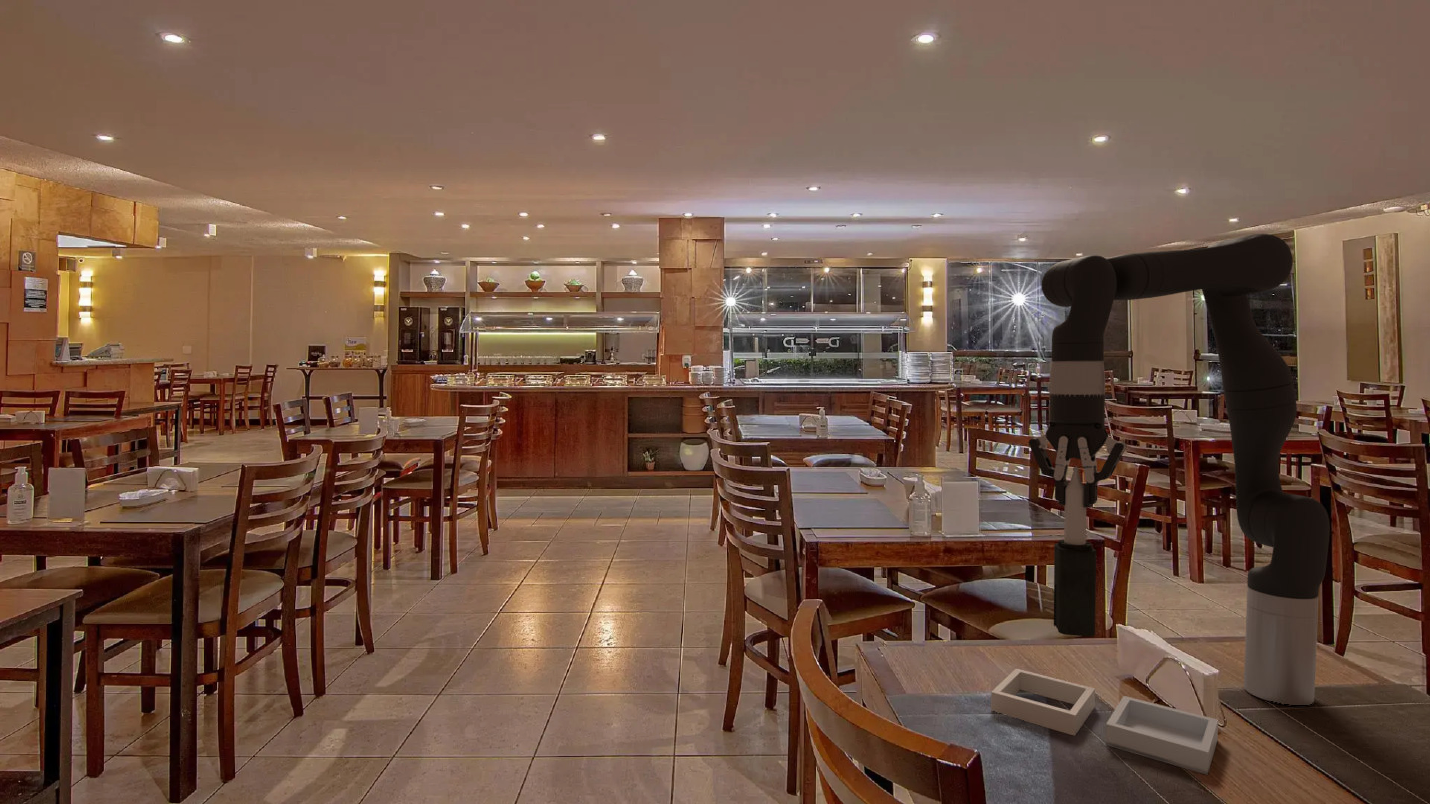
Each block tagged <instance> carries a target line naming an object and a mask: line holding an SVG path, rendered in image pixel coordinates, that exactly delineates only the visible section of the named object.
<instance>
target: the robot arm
mask: <svg viewBox="0 0 1430 804" xmlns="http://www.w3.org/2000/svg"><path fill="white" fill-rule="evenodd" d="M1293 261H1294V260H1293V254H1292V251H1291V248H1290V247H1289V245H1288V243H1286V242H1285V240H1284V239H1282V238H1280V237H1279V236H1277V235H1273V234H1269V233H1253V234H1250V235H1245V236H1244V235H1243V236H1239V237H1236V238H1235V237H1234V238H1231V239H1226V240H1222V241H1218V242H1215V243H1212V244H1210V245H1208V246H1207V247H1203V248H1202V247H1201V248H1191V249H1175V250H1159V251H1146V252H1133V253H1124V254H1119V255H1115V256H1112V257H1107V258H1105V256H1101V255H1097V254H1096V255H1095V254H1094V255H1092V254H1090V255H1085V256H1082V257H1075V258H1073V259H1067V260H1062V261H1060V262H1057V263H1055V264H1053V265H1052V266H1051V267H1049V268H1048V269H1047V270H1046V271H1045V273H1044V275H1043V276H1042V280H1041V291H1042V294H1043V295H1044V296H1043V297H1045V298H1046V300H1047V301H1048V302H1049V303H1050V304H1053V305H1054V306H1057V307H1061V308H1062V307H1063V308H1068V307H1070V309H1069V313H1068V316H1067V318H1066V320H1064V321H1063V322H1061V323H1059V324H1057V325H1056V326H1054V328H1053V330H1052V334H1051V366H1050V372H1049V383H1048V391H1049V395H1048V396H1049V397H1048V399H1049V403H1048V404H1049V405H1048V406H1049V407H1048V408H1049V409H1048V414H1049V415H1048V416H1049V418H1048V427H1047V430H1046V431H1045V434H1044V435H1041V436H1038V437H1032V438H1031V439H1029V440H1028V445H1029V447H1030V449H1031V452H1032V454H1033V456H1034V458H1035V460H1036V463H1037V466H1038V467H1039V470H1040V471H1041V474H1042V475H1043V476H1047V477H1050V478H1052V479H1053V480H1054V498H1055V501H1056V502H1058V505H1059V506H1065V488H1066V486H1067V485H1068V484H1069V479H1067V474H1068V472H1069V471H1068V470H1069V465H1070V463H1071V459H1078V460H1080V461H1081V465H1082V468H1083V473H1084V479H1085V482H1084V484H1083V485H1084V507H1085V508H1086V509H1087V508H1089V509H1091V508H1092V507H1093V505H1095V504H1096V503H1097V501H1098V486H1099V485H1098V484H1099V482H1100V481H1104V480H1107V479H1109V478H1111V477H1112V475H1113V473H1114V472H1115V470H1116V468H1117V466H1118V464H1119V463H1120V460H1121V459H1122V457H1123V455H1124V453H1125V451H1126V449H1127V448H1128V447H1127V446H1128V444H1127V443H1126V442H1125V441H1118V440H1116V439H1114V438H1112V437H1109V433H1108V431H1107V430H1106V426H1105V424H1106V423H1105V422H1106V421H1105V420H1106V417H1105V416H1106V409H1105V408H1106V374H1105V371H1106V370H1105V365H1104V359H1105V358H1104V357H1105V356H1104V352H1105V351H1104V346H1105V345H1104V343H1105V342H1104V341H1105V340H1104V339H1105V337H1104V334H1105V331H1106V328H1107V324H1108V321H1109V320H1110V319H1109V318H1110V314H1111V311H1112V307H1113V304H1114V301H1134V300H1135V301H1136V300H1142V299H1144V300H1145V299H1152V298H1158V297H1164V296H1170V295H1177V294H1182V293H1187V292H1188V293H1189V292H1192V291H1198V290H1201V291H1202V296H1203V298H1204V303H1205V306H1206V309H1207V312H1208V316H1209V319H1210V323H1211V327H1212V330H1213V334H1214V340H1215V346H1216V352H1217V355H1218V360H1219V365H1220V372H1221V380H1222V381H1221V382H1222V390H1223V395H1224V402H1225V407H1226V408H1225V409H1226V413H1227V418H1228V423H1229V429H1230V438H1231V444H1232V445H1231V446H1232V453H1233V461H1234V477H1235V481H1234V482H1235V500H1236V501H1235V505H1236V517H1237V522H1238V526H1239V528H1240V529H1241V531H1242V534H1244V535H1245V537H1246V538H1247V539H1248V540H1250V541H1251V542H1254V543H1255V544H1256V543H1257V544H1259V545H1263V546H1266V547H1269V548H1270V547H1271V548H1272V552H1271V553H1272V554H1271V560H1270V562H1269V564H1268V565H1266V566H1265V565H1264V566H1263V565H1262V566H1255V567H1252V568H1250V569H1249V571H1248V573H1247V579H1246V581H1247V582H1246V583H1247V586H1246V587H1247V588H1246V589H1247V590H1246V612H1245V613H1246V615H1245V641H1244V642H1245V644H1244V665H1243V666H1244V667H1243V688H1244V690H1245V691H1246V692H1247V693H1249V694H1250V695H1253V696H1255V697H1257V698H1260V699H1262V700H1264V701H1268V702H1271V701H1273V702H1272V703H1275V702H1277V703H1276V704H1279V703H1281V705H1284V704H1289V705H1288V706H1291V705H1307V704H1312V703H1313V702H1314V703H1315V693H1316V692H1315V691H1316V690H1315V687H1316V671H1317V670H1316V669H1317V668H1316V667H1317V646H1318V645H1317V643H1318V641H1317V640H1318V619H1319V617H1318V616H1319V614H1318V613H1319V592H1320V586H1321V585H1322V583H1323V580H1324V579H1325V575H1326V571H1327V563H1328V562H1327V561H1328V552H1329V545H1330V533H1331V527H1330V526H1331V525H1330V518H1329V514H1328V512H1327V509H1326V508H1325V507H1324V506H1323V504H1322V502H1320V501H1318V500H1316V499H1314V498H1311V497H1309V496H1305V495H1299V494H1296V493H1295V494H1293V493H1288V492H1284V491H1283V487H1282V485H1281V478H1280V470H1279V469H1280V468H1279V461H1280V460H1279V459H1280V454H1281V451H1282V448H1283V446H1284V444H1285V442H1286V441H1287V439H1288V436H1289V434H1290V432H1291V431H1292V428H1293V425H1294V424H1295V422H1296V418H1297V412H1298V405H1297V399H1296V392H1295V386H1294V385H1295V383H1294V380H1293V375H1292V371H1291V369H1290V367H1289V365H1288V364H1287V362H1286V361H1285V359H1284V358H1283V356H1281V354H1280V352H1278V350H1277V349H1276V347H1274V346H1273V345H1272V344H1271V343H1270V342H1269V340H1268V339H1267V338H1266V337H1265V335H1264V334H1263V333H1262V332H1261V331H1260V329H1259V327H1258V326H1257V325H1256V322H1255V319H1254V317H1253V315H1252V310H1251V306H1250V301H1249V295H1253V294H1260V293H1264V292H1268V291H1269V292H1270V291H1271V290H1273V289H1275V288H1278V287H1279V286H1281V285H1282V284H1283V283H1285V281H1286V280H1287V279H1288V278H1289V276H1290V274H1291V272H1292V269H1293ZM1048 442H1049V444H1050V445H1051V446H1052V448H1053V450H1054V451H1055V452H1056V458H1055V463H1054V465H1055V467H1054V466H1053V463H1052V461H1051V459H1050V457H1049V455H1048V452H1047V448H1048ZM1104 445H1106V452H1107V454H1108V456H1107V458H1106V460H1105V462H1104V464H1103V466H1102V468H1101V470H1100V471H1098V468H1097V467H1098V462H1097V457H1096V456H1097V455H1096V454H1097V453H1098V452H1099V451H1100V450H1101V449H1102V447H1104ZM1314 703H1313V704H1314ZM1290 704H1291V705H1290ZM1313 704H1312V705H1313Z"/></svg>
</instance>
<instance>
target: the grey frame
mask: <svg viewBox="0 0 1430 804" xmlns="http://www.w3.org/2000/svg"><path fill="white" fill-rule="evenodd" d="M1019 691H1023V692H1027V693H1031V694H1034V695H1037V696H1041V697H1045V698H1050V699H1053V700H1057V701H1061V702H1065V703H1068V704H1071V705H1072V707H1071V708H1070V710H1068V709H1064V708H1060V707H1058V706H1053V705H1050V704H1047V703H1042V702H1039V701H1035V700H1032V699H1028V698H1024V697H1021V696H1017V693H1018V692H1019ZM990 695H991V696H990V699H991V701H990V711H991V710H993V711H995V712H994V713H996V712H997V713H998V714H999V713H1002V714H1001V715H1003V714H1006V715H1009V716H1008V717H1010V716H1012V717H1011V718H1013V717H1014V718H1013V719H1016V718H1019V719H1018V720H1020V719H1021V720H1020V721H1023V720H1024V722H1027V723H1031V724H1034V725H1038V726H1040V727H1043V728H1047V729H1050V730H1053V731H1057V732H1061V733H1064V734H1067V735H1071V736H1076V735H1077V733H1078V732H1079V730H1080V729H1081V728H1082V727H1083V724H1084V723H1085V722H1086V721H1087V719H1088V717H1089V716H1090V715H1091V713H1092V712H1093V710H1094V709H1095V708H1096V706H1095V704H1096V703H1095V701H1096V688H1094V687H1090V686H1087V685H1084V684H1083V685H1082V684H1079V683H1075V682H1072V681H1071V682H1070V681H1067V680H1065V679H1064V680H1063V679H1058V678H1054V677H1052V676H1047V675H1044V674H1043V675H1042V674H1040V673H1036V672H1031V671H1028V670H1023V669H1019V668H1015V669H1014V670H1013V671H1012V672H1011V673H1010V674H1009V675H1007V676H1006V678H1004V679H1003V680H1002V681H1001V682H1000V683H999V684H998V685H997V686H996V687H995V688H994V689H993V690H992V691H991V693H990ZM993 711H992V712H993ZM997 713H996V714H997ZM1006 715H1005V716H1006Z"/></svg>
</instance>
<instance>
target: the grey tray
mask: <svg viewBox="0 0 1430 804" xmlns="http://www.w3.org/2000/svg"><path fill="white" fill-rule="evenodd" d="M1218 734H1219V719H1216V718H1212V717H1209V716H1205V715H1201V714H1196V713H1192V712H1189V711H1185V710H1183V709H1182V710H1181V709H1178V708H1174V707H1170V706H1166V705H1162V704H1157V703H1154V702H1150V701H1147V700H1142V699H1137V698H1134V697H1131V696H1126V695H1123V696H1122V697H1121V700H1120V701H1119V702H1118V704H1117V706H1116V708H1115V709H1114V711H1113V712H1112V714H1111V716H1110V717H1109V719H1108V720H1107V722H1106V724H1105V745H1106V746H1108V747H1111V748H1115V749H1119V750H1122V751H1125V752H1129V753H1132V754H1135V755H1139V756H1142V757H1144V758H1145V757H1146V758H1147V759H1148V758H1149V759H1153V760H1156V761H1158V762H1159V761H1160V762H1163V763H1165V764H1169V765H1173V766H1176V767H1179V768H1183V769H1187V770H1189V771H1193V772H1196V773H1200V774H1203V775H1206V776H1208V775H1209V771H1210V768H1211V765H1212V761H1213V758H1214V754H1215V750H1216V746H1217V743H1218V739H1219V736H1218Z"/></svg>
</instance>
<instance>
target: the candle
mask: <svg viewBox="0 0 1430 804" xmlns="http://www.w3.org/2000/svg"><path fill="white" fill-rule="evenodd" d="M1072 470H1073V472H1072V475H1071V478H1070V480H1069V482H1068V485H1067V486H1066V488H1065V505H1064V537H1063V538H1064V539H1059V540H1058V542H1056V543H1054V546H1053V548H1054V552H1053V553H1054V554H1053V557H1054V559H1053V561H1054V562H1053V568H1054V570H1053V572H1054V573H1053V627H1056V629H1057V631H1058V633H1059V634H1062V635H1065V636H1077V637H1078V636H1080V637H1081V636H1082V637H1094V636H1095V635H1096V600H1097V599H1096V598H1097V597H1096V592H1097V589H1096V588H1097V586H1096V584H1097V579H1096V578H1097V550H1096V549H1095V548H1094V547H1093V543H1091V542H1089V541H1087V508H1085V507H1084V484H1083V483H1082V482H1083V481H1082V480H1081V476H1080V473H1079V471H1080V468H1079V467H1078V466H1073V467H1072Z"/></svg>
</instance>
